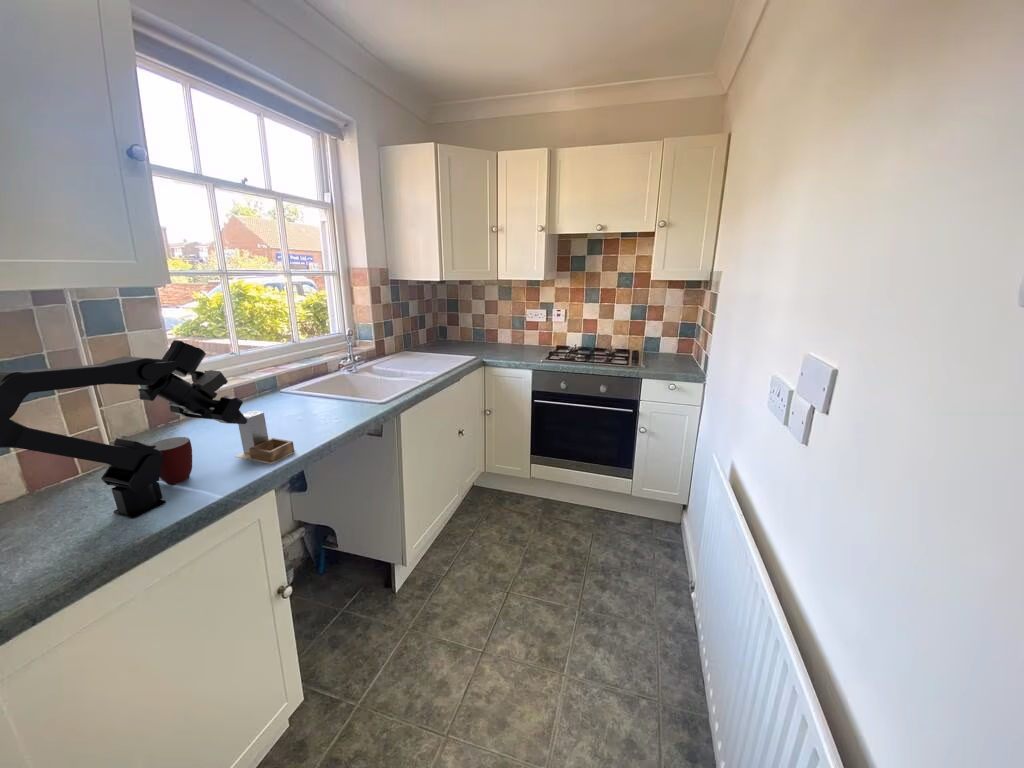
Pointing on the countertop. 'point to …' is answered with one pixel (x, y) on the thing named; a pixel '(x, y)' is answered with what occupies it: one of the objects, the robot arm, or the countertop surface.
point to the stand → (269, 451)
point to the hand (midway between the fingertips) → (233, 420)
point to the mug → (175, 459)
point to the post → (253, 430)
